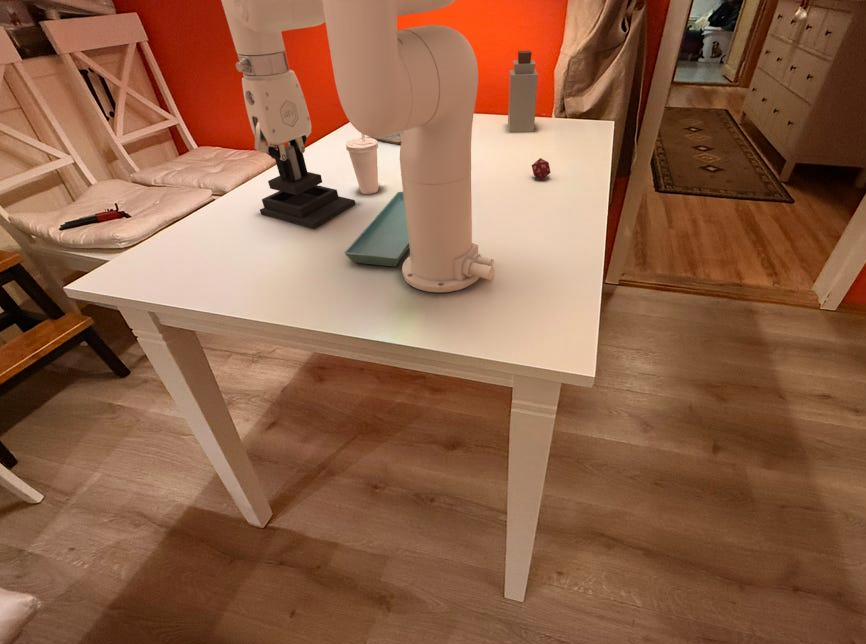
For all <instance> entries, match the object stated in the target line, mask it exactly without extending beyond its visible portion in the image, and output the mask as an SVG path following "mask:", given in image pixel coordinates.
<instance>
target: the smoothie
mask: <svg viewBox="0 0 866 644" xmlns="http://www.w3.org/2000/svg"><path fill="white" fill-rule="evenodd" d="M360 134H361V137H358V138H353V139H350V140H348V141H347V142H345V149H346V151H347V152H348V154H349V159H350V161H351V165H352V167H353V172H354V174H355V177H356V180H357V184H358V187H359V190H360V193H361V194H364V195H372V194H375V193H377V192H378V191H379V172H378V171H379V170H378V168H379V167H378V148H379V144H378V140H376V139H374V138H372V137H366V135H364V134H362V133H361V132H360Z"/></svg>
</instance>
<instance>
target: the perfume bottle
mask: <svg viewBox="0 0 866 644" xmlns="http://www.w3.org/2000/svg"><path fill="white" fill-rule="evenodd" d="M532 55H533V52H532V50H529V49H528V50H517V59H516V60H514V59H513V60H512V64H513V69H510V70H509V80H508V105H507V106H508V108H507V128H508V129H507V130H508V133H533V132H535V123H536V110H537V109H536V108H537V93H538V79H539V74H538V71H537V70H536V62H535V60H534V59H532Z"/></svg>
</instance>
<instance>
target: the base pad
mask: <svg viewBox="0 0 866 644" xmlns="http://www.w3.org/2000/svg"><path fill="white" fill-rule="evenodd" d="M261 202H262V205H263V207H262V208H260V209H259V212H260V214H261V215H262V216H266V217H268V218H269V217H270V218H273V219H277V220H280V221H284V222H288V223H291V224H295V225H298V226H301V227H306V228H310V229H313V230H315V229H317V228H318V227H320V226H322V225H323V224H325V223H327V222H329V221H330V220H332V219H334V218H335V217H337V216H339V215H340V214H342V213H344V212H345V211H347V210H349V209H351V208H353V207H354V206H355V205H356V200H355V199H352V198H349V197H348V198H347V197H343V196H339V193H338V190H337V189H336V188H330V187H327V186H321V185H319V184H318V185H316V186H314V187H312V188H310V189H308V190H306V191H304V192H302V193H300V194H298V195H294V194H290V193H286V192H282V191H278V190H277V191H276V192H273V193H271V194H270V195H268V196H265V197H264V198H262V199H261Z"/></svg>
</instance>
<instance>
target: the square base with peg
mask: <svg viewBox="0 0 866 644" xmlns="http://www.w3.org/2000/svg"><path fill="white" fill-rule="evenodd" d="M284 147H285V152H286V157H287V159H289V160H290V162H291V165H292V169H293V173H294V177H295V181H293V182H290V181H286V180H282V179H281V177H280V175H278V176H276V177H274V178H271V179H269V180H267V182H268V186H269V189H271V190H273V191H277V192H278V191H282V192H286V193H290V194H294V195H298V194H300V193H302V192H304V191H306V190H308V189H310V188H312V187H314V186H316V185H318V186H319V185H320V184H322V183H323V179H322V175H321V174H319V173H315V172H311V171H310V172H309V171H307V173H308V175H306V176H303V175H301V173H300V169H299V165H298V161H297V157H296V153H295V149H294V146H290V145H284Z"/></svg>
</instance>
